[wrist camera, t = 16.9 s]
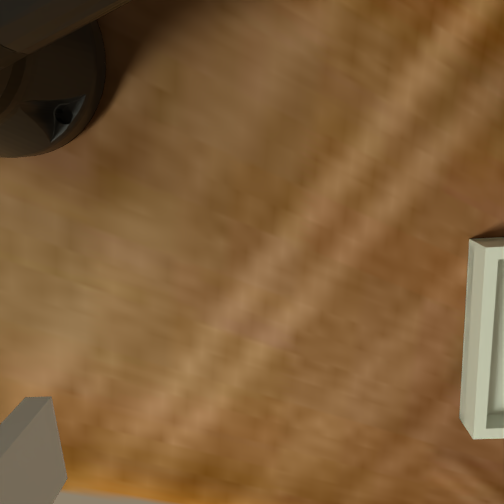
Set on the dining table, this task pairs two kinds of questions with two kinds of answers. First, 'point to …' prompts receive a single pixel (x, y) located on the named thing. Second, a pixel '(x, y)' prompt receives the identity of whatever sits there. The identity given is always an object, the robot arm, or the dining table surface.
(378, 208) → the dining table surface
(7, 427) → the robot arm
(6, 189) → the dining table surface
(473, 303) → the tray
